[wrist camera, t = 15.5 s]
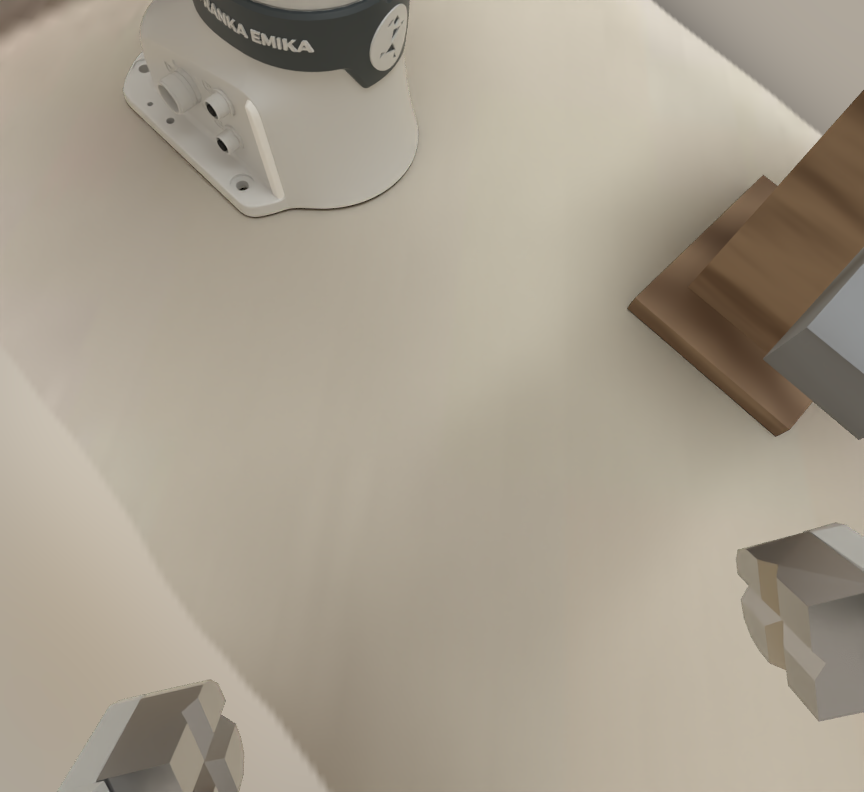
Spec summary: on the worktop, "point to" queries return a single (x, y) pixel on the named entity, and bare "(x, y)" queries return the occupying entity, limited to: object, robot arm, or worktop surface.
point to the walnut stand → (764, 273)
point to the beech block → (830, 349)
